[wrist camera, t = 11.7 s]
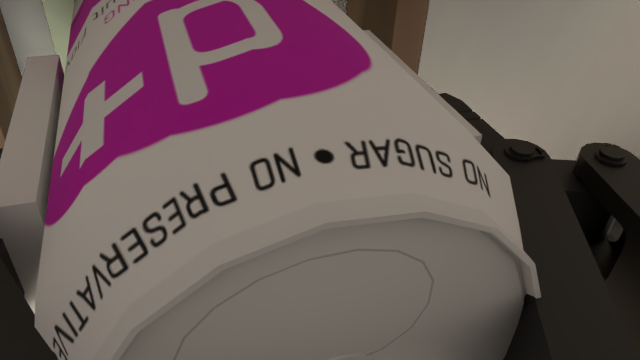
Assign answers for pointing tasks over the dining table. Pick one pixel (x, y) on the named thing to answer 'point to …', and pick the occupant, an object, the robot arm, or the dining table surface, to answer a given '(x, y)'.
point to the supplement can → (267, 196)
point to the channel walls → (363, 8)
